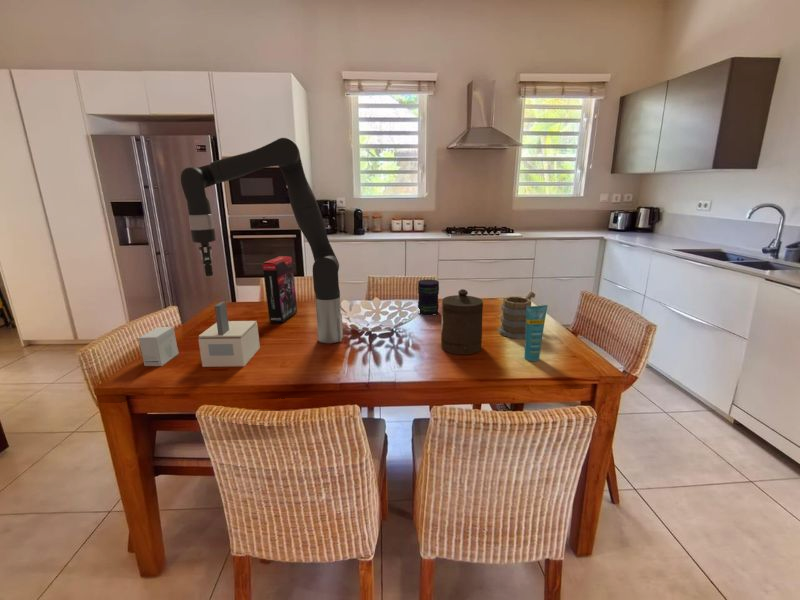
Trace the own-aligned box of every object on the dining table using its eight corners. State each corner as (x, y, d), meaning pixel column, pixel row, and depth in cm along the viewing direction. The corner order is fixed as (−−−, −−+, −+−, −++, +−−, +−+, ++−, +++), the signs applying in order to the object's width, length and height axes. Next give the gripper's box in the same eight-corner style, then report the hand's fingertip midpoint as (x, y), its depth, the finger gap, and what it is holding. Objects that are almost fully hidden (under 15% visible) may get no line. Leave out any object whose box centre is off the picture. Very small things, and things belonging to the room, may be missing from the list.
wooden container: (457, 337, 160) (459, 283, 154) (489, 347, 150) (492, 289, 144) (432, 347, 150) (433, 290, 144) (465, 358, 140) (467, 297, 134)
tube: (525, 362, 136) (530, 308, 131) (518, 356, 141) (522, 304, 136) (545, 360, 138) (550, 306, 133) (537, 354, 143) (542, 302, 137)
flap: (256, 322, 147) (253, 294, 144) (241, 337, 133) (237, 306, 130) (218, 322, 147) (214, 294, 144) (198, 337, 133) (194, 306, 130)
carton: (259, 347, 151) (257, 322, 148) (244, 366, 135) (240, 338, 132) (222, 348, 150) (218, 322, 148) (202, 366, 135) (198, 338, 132)
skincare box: (161, 353, 146) (156, 326, 143) (179, 353, 146) (174, 326, 143) (143, 366, 136) (137, 337, 133) (161, 366, 136) (156, 337, 133)
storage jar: (439, 315, 186) (440, 284, 182) (418, 315, 187) (418, 284, 182) (437, 309, 196) (438, 279, 192) (417, 309, 196) (417, 279, 192)
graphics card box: (282, 324, 177) (277, 262, 169) (267, 323, 178) (261, 262, 170) (297, 312, 193) (293, 256, 185) (284, 311, 194) (279, 255, 186)
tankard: (519, 340, 156) (522, 303, 151) (492, 332, 165) (494, 297, 161) (546, 329, 168) (550, 294, 164) (520, 321, 177) (522, 288, 173)
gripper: (214, 228, 135) (221, 276, 140) (213, 225, 148) (219, 269, 152) (189, 230, 132) (197, 278, 137) (190, 226, 145) (198, 271, 149)
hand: (209, 273), depth 145 cm, fingers open, 8 cm apart
